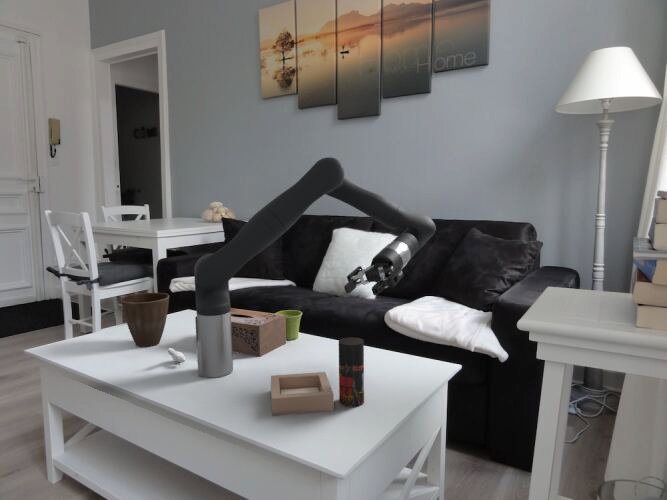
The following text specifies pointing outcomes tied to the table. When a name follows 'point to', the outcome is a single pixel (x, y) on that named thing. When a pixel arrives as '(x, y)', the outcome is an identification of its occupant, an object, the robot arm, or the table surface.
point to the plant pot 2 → (291, 323)
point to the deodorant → (351, 372)
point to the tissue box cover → (256, 331)
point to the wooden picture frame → (301, 393)
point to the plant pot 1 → (146, 317)
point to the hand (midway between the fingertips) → (359, 291)
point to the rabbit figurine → (176, 355)
